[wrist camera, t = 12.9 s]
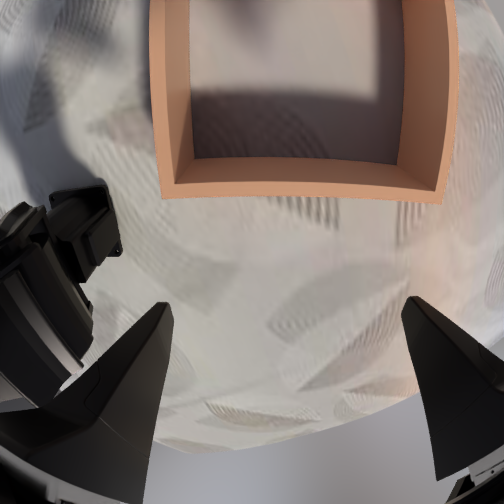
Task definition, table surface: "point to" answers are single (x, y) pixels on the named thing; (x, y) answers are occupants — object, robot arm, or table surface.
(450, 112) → the terracotta box
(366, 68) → the table surface
